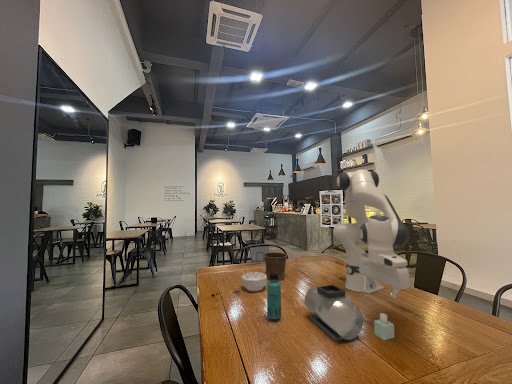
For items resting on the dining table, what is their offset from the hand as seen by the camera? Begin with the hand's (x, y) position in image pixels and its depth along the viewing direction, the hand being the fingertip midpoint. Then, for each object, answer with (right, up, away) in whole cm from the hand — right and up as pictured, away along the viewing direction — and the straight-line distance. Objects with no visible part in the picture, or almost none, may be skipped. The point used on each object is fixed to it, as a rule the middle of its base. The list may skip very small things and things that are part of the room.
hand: (382, 292), depth 86 cm
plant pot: (-36, -21, +67) cm, 79 cm away
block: (0, -16, -1) cm, 16 cm away
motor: (-18, -17, +8) cm, 26 cm away
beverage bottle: (-41, -18, +12) cm, 47 cm away
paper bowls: (-50, -20, +48) cm, 73 cm away
